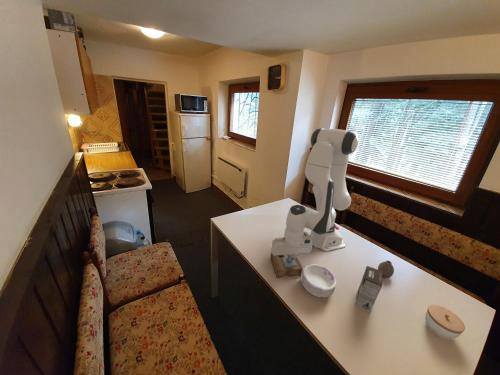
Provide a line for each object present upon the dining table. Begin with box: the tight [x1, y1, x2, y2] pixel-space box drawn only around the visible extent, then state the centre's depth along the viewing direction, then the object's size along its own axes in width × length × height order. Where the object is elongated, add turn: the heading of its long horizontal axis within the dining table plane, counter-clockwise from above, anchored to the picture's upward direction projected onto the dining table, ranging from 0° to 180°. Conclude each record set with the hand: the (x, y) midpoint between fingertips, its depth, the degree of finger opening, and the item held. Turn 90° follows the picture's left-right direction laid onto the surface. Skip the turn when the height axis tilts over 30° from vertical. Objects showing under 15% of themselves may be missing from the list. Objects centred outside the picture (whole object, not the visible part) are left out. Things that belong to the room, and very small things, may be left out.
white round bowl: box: [300, 263, 338, 298], centre depth 95 cm, size 15×15×8 cm
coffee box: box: [355, 265, 384, 313], centre depth 88 cm, size 9×6×16 cm
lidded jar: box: [424, 304, 466, 340], centre depth 79 cm, size 11×11×9 cm
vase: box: [377, 260, 395, 279], centre depth 104 cm, size 7×7×9 cm
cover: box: [282, 254, 297, 267], centre depth 103 cm, size 6×6×4 cm
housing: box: [269, 251, 303, 279], centre depth 106 cm, size 13×13×5 cm
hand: (289, 259), depth 103 cm, fingers closed on cover, 2 cm apart
